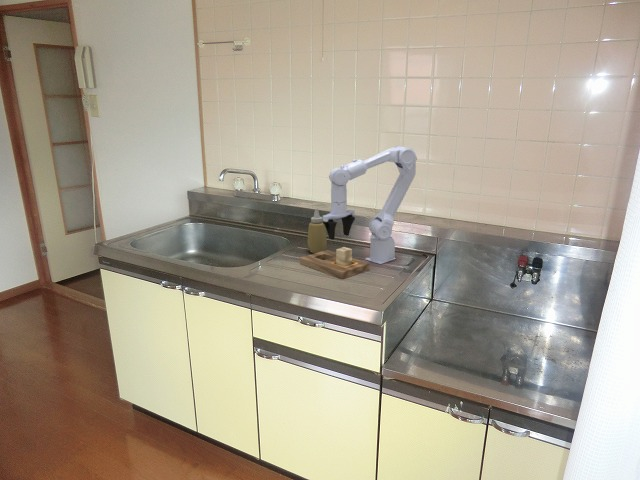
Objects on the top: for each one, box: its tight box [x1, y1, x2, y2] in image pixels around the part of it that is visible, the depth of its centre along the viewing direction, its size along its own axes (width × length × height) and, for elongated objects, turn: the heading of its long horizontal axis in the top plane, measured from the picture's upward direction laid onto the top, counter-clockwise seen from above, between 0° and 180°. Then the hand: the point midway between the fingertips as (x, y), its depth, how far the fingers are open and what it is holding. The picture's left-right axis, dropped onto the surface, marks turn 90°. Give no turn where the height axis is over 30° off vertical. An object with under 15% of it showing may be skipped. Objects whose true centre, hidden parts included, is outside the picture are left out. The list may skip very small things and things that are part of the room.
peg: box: [335, 246, 353, 267], centre depth 172 cm, size 4×4×8 cm
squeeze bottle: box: [306, 208, 328, 254], centre depth 192 cm, size 8×8×18 cm
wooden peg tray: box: [299, 249, 371, 280], centre depth 176 cm, size 14×23×3 cm, turn 42°
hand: (339, 237), depth 177 cm, fingers open, 7 cm apart
